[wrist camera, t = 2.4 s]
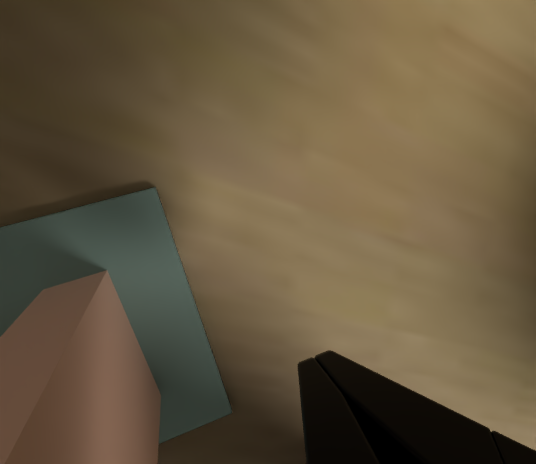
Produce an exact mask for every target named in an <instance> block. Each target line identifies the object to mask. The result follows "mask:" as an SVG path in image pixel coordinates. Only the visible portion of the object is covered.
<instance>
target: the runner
mask: <svg viewBox="0 0 536 464" xmlns="http://www.w3.org/2000/svg"><path fill="white" fill-rule="evenodd" d="M106 270H107V271H108V273H109V276H110V278H111V280H112V283H113V285H114V287H115V290H116V292H117V294H118V296H119V299H120V301H121V303H122V306H123V308H124V310H125V313H126V315H127V317H128V320H129V322H130V324H131V327H132V329H133V331H134V334H135V336H136V338H137V341H138V343H139V345H140V348H141V350H142V352H143V354H144V357H145V359H146V361H147V364H148V366H149V368H150V371H151V373H152V375H153V378H154V380H155V382H156V385H157V387H158V389H159V392H160V394H161V406H160V426H159V444H160V443H162V442H165V441H167V440H169V439H172V438H174V437H177V436H179V435H181V434H184V433H186V432H188V431H191V430H193V429H195V428H198V427H200V426H203V425H205V424H207V423H210V422H212V421H214V420H217V419H219V418H222V417H224V416H226V415H229V414H231V413H232V409H231V405H230V402H229V400H228V397H227V394H226V391H225V388H224V385H223V382H222V379H221V376H220V373H219V370H218V367H217V365H216V362H215V359H214V356H213V353H212V350H211V347H210V344H209V341H208V338H207V335H206V333H205V330H204V327H203V324H202V321H201V318H200V315H199V312H198V309H197V306H196V303H195V300H194V298H193V295H192V292H191V289H190V286H189V283H188V280H187V277H186V274H185V271H184V268H183V266H182V263H181V260H180V257H179V254H178V251H177V248H176V245H175V242H174V239H173V236H172V233H171V231H170V228H169V225H168V222H167V219H166V216H165V213H164V210H163V207H162V204H161V201H160V198H159V196H158V193H157V190H156V187H153V188H149V189H145V190H141V191H138V192H134V193H130V194H126V195H122V196H118V197H115V198H111V199H107V200H103V201H99V202H95V203H92V204H88V205H84V206H80V207H76V208H72V209H69V210H65V211H61V212H57V213H53V214H49V215H46V216H42V217H38V218H34V219H30V220H26V221H23V222H19V223H15V224H11V225H7V226H3V227H0V337H1V336H2V335H3V334H4V332H5V331H6V330H7V329H8V328H9V327H10V326H11V325H12V324H13V322H14V321H15V320H16V319H17V318H18V317H19V316H20V315H21V314H22V312H23V311H24V310H25V309H26V308H27V307H28V306H29V305H30V304H31V302H32V301H33V300H34V299H35V298H36V297H37V296H38V295H39V294H40V292H41V291H42V290H43V289H47V288H50V287H53V286H56V285H60V284H63V283H66V282H70V281H73V280H76V279H80V278H83V277H86V276H89V275H93V274H96V273H99V272H103V271H106Z"/></svg>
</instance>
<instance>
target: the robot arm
mask: <svg viewBox="0 0 536 464" xmlns="http://www.w3.org/2000/svg"><path fill="white" fill-rule="evenodd" d="M298 376H299V387H300V398H301V409H302V420H303V431H304V442H305V453H306V463H307V464H536V451H535V450H533V449H531V448H529V447H527V446H525V445H522V444H520V443H518V442H516V441H514V440H512V439H510V438H508V437H506V436H504V435H502V434H500V433H498V432H496V431H492V432H491V431H490V429H489V428H487V427H485V426H483V425H481V424H479V423H477V422H475V421H473V420H471V419H469V418H467V417H465V416H463V415H461V414H459V413H457V412H455V411H453V410H451V409H449V408H447V407H445V406H443V405H441V404H439V403H437V402H435V401H433V400H431V399H429V398H427V397H425V396H423V395H421V394H419V393H416V392H414V391H412V390H410V389H408V388H406V387H404V386H402V385H400V384H398V383H396V382H394V381H392V380H390V379H388V378H386V377H384V376H382V375H380V374H378V373H376V372H374V371H372V370H370V369H368V368H366V367H364V366H362V365H360V364H358V363H356V362H354V361H352V360H350V359H348V358H346V357H344V356H341V355H339V354H337V353H335V352H333V351H330V350H329V351H326V352H323V353H321V354H318V355H316V356H315V358H312V357H311V358H309V359H306V360H304V361H301V362H299V363H298Z"/></svg>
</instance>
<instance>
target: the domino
mask: <svg viewBox="0 0 536 464" xmlns="http://www.w3.org/2000/svg"><path fill="white" fill-rule="evenodd" d="M160 406H161V394H160V392H159V389H158V387H157V385H156V382H155V380H154V378H153V375H152V373H151V371H150V368H149V366H148V364H147V361H146V359H145V357H144V354H143V352H142V350H141V348H140V345H139V343H138V341H137V338H136V336H135V334H134V331H133V329H132V327H131V324H130V322H129V320H128V317H127V315H126V313H125V310H124V308H123V306H122V303H121V301H120V299H119V296H118V294H117V292H116V290H115V287H114V285H113V283H112V280H111V278H110V276H109V273H108V271H107V270H106V271H103V272H99V273H96V274H93V275H89V276H86V277H83V278H80V279H76V280H73V281H70V282H66V283H63V284H60V285H56V286H53V287H50V288H47V289H43V290H42V291H41V292H40V294H39V295H38V296H37V297H36V298H35V299H34V300H33V301H32V302H31V304H30V305H29V306H28V307H27V308H26V309H25V310H24V311H23V312H22V314H21V315H20V316H19V317H18V318H17V319H16V320H15V321H14V322H13V324H12V325H11V326H10V327H9V328H8V329H7V330H6V331H5V332H4V334H3V335H2V336H1V337H0V464H158V446H159V426H160Z"/></svg>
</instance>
